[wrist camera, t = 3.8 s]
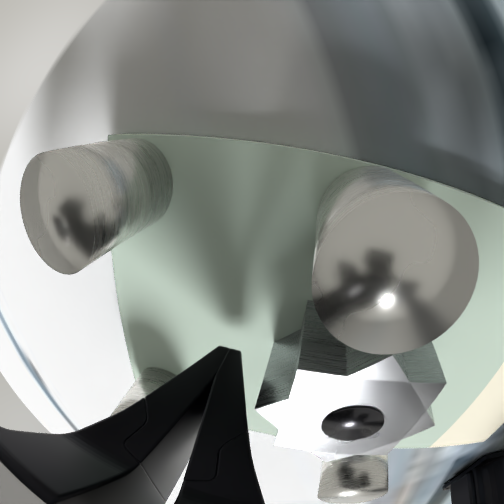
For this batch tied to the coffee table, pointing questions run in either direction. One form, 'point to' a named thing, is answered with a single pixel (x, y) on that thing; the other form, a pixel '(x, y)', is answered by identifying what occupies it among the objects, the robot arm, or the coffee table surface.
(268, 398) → the gear
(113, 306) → the coffee table surface
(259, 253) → the mat
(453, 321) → the spacer field
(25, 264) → the coffee table surface
